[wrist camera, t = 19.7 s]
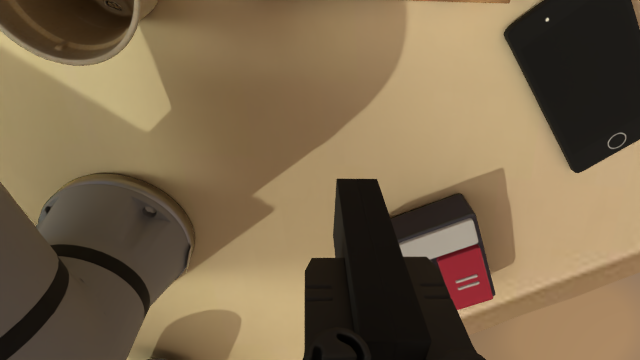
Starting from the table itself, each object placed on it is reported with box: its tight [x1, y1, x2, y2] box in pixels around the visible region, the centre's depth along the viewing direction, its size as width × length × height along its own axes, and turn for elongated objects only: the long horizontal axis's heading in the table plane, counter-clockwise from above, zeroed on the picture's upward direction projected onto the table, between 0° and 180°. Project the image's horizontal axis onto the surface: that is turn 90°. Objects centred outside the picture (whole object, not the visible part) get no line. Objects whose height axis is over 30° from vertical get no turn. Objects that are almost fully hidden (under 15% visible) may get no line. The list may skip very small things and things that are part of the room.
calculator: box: [391, 194, 495, 310], centre depth 41 cm, size 11×4×15 cm
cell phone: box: [504, 0, 640, 173], centre depth 31 cm, size 9×18×1 cm, turn 40°
